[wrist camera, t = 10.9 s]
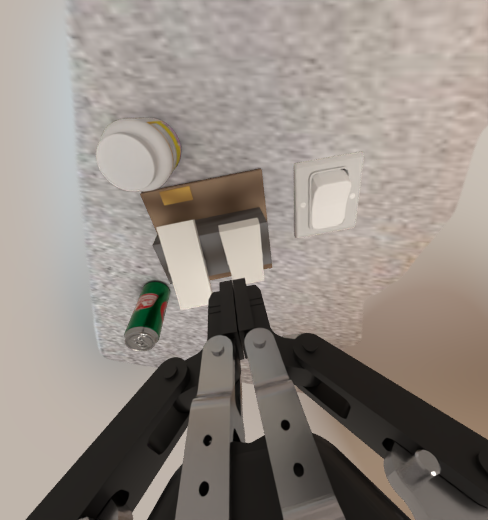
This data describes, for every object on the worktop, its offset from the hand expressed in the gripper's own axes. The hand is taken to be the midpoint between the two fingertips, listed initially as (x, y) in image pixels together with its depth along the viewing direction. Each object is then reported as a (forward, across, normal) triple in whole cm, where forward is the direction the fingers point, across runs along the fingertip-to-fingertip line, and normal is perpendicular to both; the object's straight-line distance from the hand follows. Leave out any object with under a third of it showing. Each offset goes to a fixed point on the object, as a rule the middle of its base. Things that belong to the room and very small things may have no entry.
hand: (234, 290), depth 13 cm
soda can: (+24, +16, +18) cm, 34 cm away
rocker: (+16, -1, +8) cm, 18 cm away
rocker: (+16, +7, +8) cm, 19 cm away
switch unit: (+24, +3, +8) cm, 26 cm away
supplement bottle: (+24, +8, -6) cm, 26 cm away
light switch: (+25, -17, +6) cm, 31 cm away
